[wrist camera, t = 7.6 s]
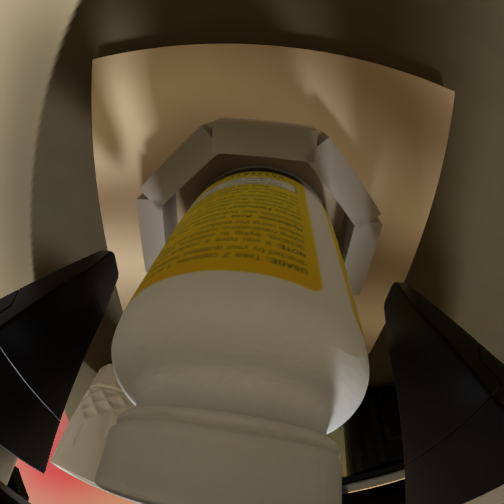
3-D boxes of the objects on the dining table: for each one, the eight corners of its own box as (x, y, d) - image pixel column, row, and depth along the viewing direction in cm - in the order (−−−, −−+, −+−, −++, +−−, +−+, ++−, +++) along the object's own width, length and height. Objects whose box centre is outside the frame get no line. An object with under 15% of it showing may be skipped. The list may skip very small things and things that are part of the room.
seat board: (366, 343, 15) (373, 374, 13) (132, 317, 16) (117, 345, 14) (444, 90, 8) (476, 94, 6) (102, 60, 8) (69, 58, 7)
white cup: (79, 360, 20) (34, 452, 11) (138, 352, 18) (88, 479, 9) (134, 409, 23) (106, 492, 15) (197, 408, 21) (174, 513, 13)
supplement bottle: (167, 227, 11) (33, 454, 3) (260, 131, 9) (115, 472, 1) (259, 304, 13) (231, 527, 5) (355, 235, 11) (435, 501, 3)
